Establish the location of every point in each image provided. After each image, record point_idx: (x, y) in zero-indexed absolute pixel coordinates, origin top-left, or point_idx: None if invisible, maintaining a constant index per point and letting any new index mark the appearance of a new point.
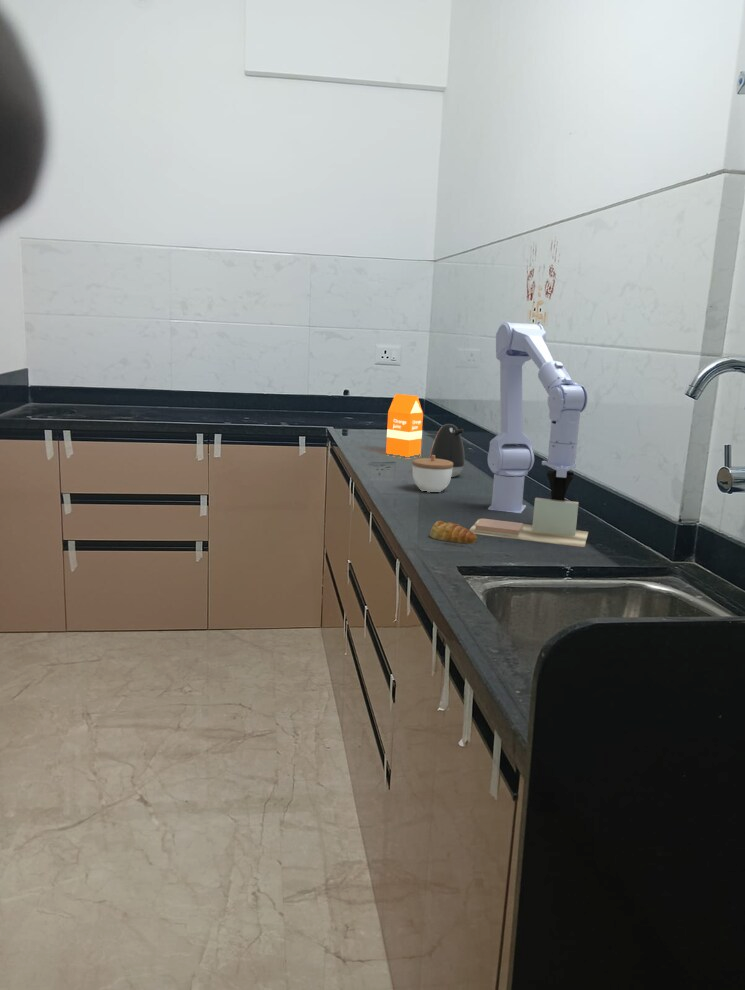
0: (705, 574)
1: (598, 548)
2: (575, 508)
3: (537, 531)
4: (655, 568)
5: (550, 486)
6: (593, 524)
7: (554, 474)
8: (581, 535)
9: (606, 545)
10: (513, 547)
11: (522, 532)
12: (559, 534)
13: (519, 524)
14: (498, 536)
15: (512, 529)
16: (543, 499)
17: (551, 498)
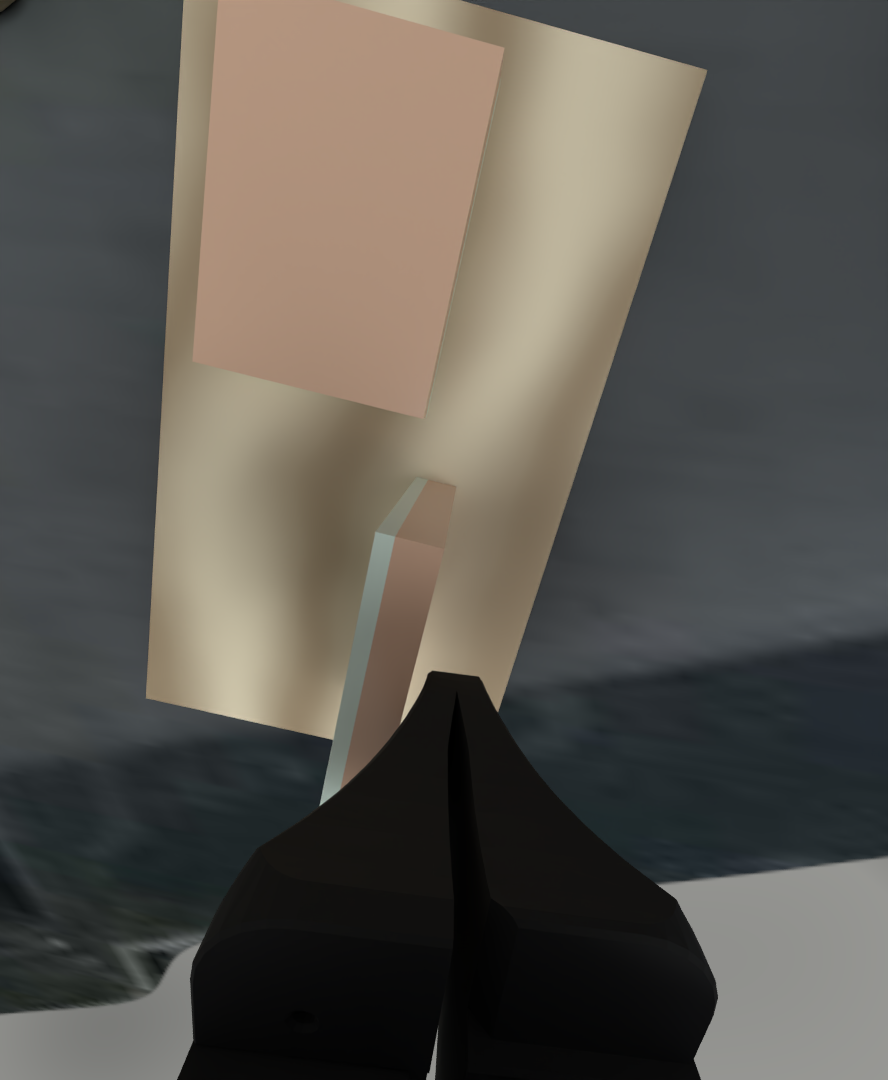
0: (15, 995)
1: (218, 753)
2: None
3: None
4: (3, 882)
5: (367, 768)
6: (705, 822)
7: (195, 1009)
8: None
9: (288, 794)
10: (34, 318)
11: (345, 407)
12: None
13: (376, 386)
14: (174, 217)
15: (202, 315)
16: (373, 614)
17: (424, 694)
